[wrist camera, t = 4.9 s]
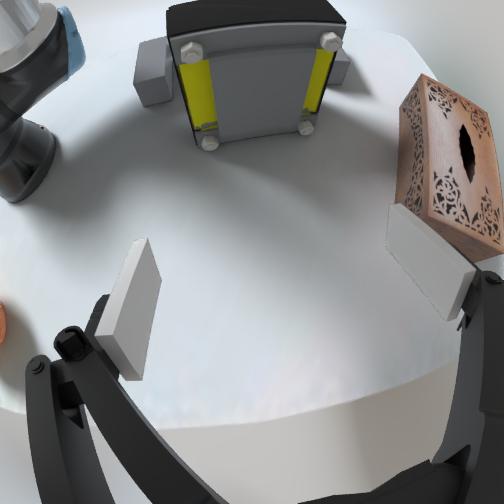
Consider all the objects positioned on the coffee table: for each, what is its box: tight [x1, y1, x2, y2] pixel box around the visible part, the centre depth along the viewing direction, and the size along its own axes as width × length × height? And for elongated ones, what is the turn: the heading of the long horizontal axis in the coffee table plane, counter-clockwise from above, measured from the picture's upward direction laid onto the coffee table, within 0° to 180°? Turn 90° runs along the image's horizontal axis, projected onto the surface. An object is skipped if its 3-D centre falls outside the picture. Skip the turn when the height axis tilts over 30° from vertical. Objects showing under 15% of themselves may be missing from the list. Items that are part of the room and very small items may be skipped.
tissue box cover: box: [395, 73, 504, 263], centre depth 34 cm, size 26×14×10 cm, turn 163°
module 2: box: [327, 47, 350, 85], centre depth 40 cm, size 5×12×6 cm, turn 9°
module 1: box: [133, 36, 173, 107], centre depth 39 cm, size 5×12×6 cm, turn 9°
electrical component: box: [166, 0, 346, 151], centre depth 30 cm, size 18×10×20 cm, turn 102°
